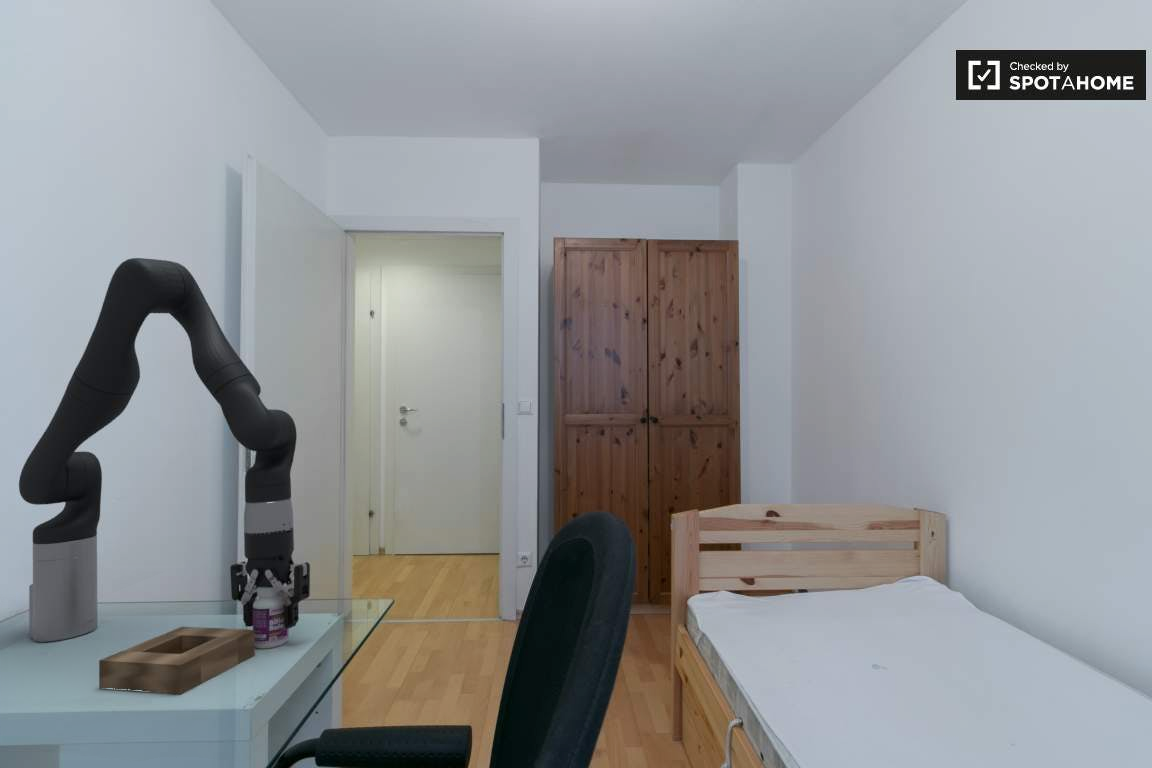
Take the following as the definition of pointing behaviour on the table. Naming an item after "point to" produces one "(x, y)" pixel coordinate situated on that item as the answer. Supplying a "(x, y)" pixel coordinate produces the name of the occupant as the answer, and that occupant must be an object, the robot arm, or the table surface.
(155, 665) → the well block
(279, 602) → the pill bottle
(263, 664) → the table surface
